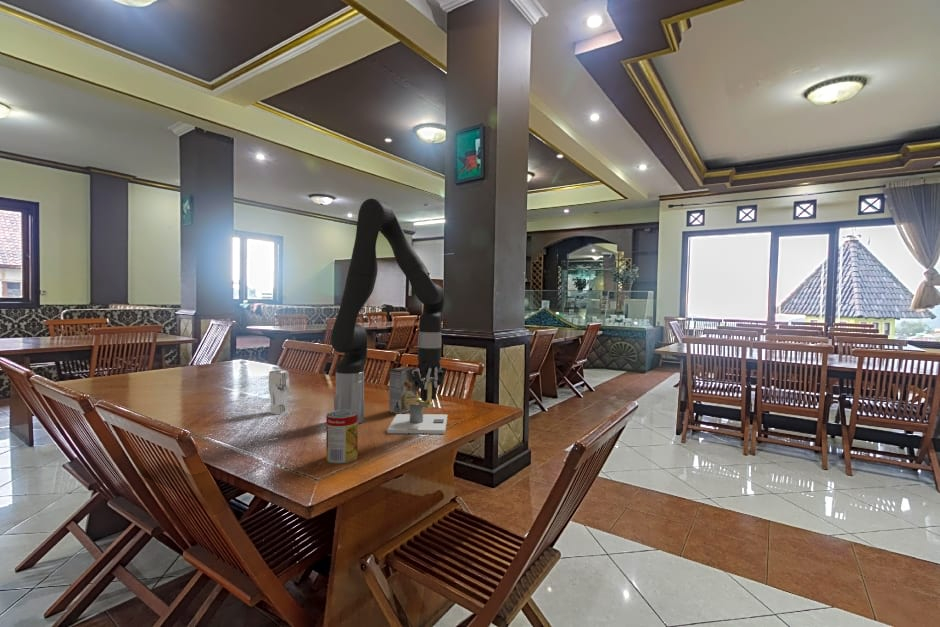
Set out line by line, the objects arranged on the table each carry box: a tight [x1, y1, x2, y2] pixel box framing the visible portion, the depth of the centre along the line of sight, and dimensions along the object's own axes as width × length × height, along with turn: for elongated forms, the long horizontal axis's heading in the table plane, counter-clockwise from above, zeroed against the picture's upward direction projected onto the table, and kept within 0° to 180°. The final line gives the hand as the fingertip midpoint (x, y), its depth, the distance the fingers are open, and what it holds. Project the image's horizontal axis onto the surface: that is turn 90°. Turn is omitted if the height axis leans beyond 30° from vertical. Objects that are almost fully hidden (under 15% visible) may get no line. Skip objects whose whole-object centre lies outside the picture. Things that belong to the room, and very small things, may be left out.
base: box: [386, 405, 448, 435], centre depth 144 cm, size 18×18×7 cm
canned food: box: [325, 409, 359, 465], centre depth 114 cm, size 8×8×12 cm
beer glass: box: [268, 369, 290, 415], centre depth 158 cm, size 7×7×15 cm
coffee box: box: [388, 366, 418, 414], centre depth 162 cm, size 9×6×16 cm
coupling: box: [406, 381, 434, 409], centre depth 142 cm, size 7×12×8 cm, turn 36°
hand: (428, 399), depth 138 cm, fingers closed on coupling, 2 cm apart
